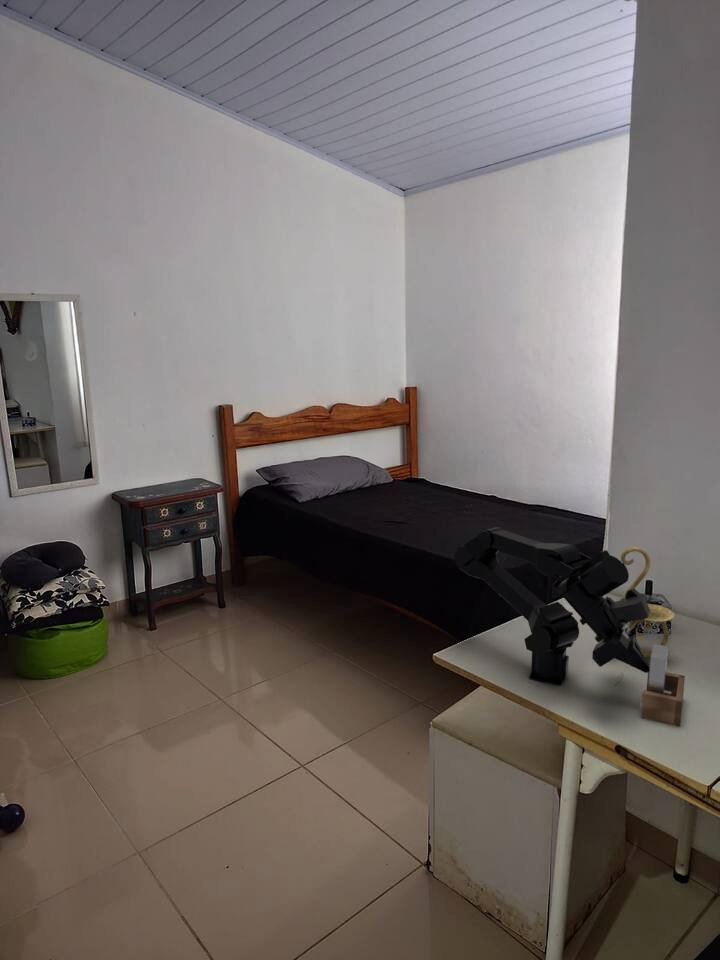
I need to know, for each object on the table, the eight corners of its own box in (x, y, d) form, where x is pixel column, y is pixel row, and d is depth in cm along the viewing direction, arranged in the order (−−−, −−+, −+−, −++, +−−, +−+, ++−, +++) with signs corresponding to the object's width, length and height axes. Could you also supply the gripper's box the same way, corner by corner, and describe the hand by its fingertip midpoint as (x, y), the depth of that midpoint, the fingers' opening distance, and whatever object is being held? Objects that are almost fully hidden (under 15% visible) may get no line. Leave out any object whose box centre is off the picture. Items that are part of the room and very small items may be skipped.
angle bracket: (639, 710, 118) (643, 655, 116) (642, 696, 123) (646, 642, 121) (669, 717, 116) (673, 661, 114) (671, 702, 121) (675, 647, 119)
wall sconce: (610, 667, 135) (617, 554, 130) (596, 647, 144) (602, 540, 140) (678, 668, 134) (687, 554, 129) (660, 648, 143) (668, 540, 139)
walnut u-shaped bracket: (641, 718, 116) (643, 693, 115) (646, 692, 125) (648, 668, 124) (680, 727, 113) (682, 701, 112) (682, 700, 122) (685, 675, 121)
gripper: (615, 596, 110) (682, 670, 107) (630, 566, 126) (688, 629, 123) (566, 630, 116) (628, 702, 112) (586, 597, 131) (641, 659, 128)
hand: (648, 671), depth 119 cm, fingers closed
